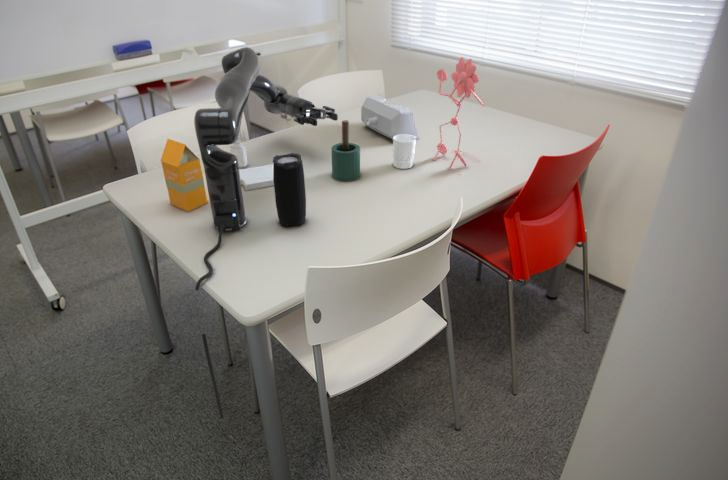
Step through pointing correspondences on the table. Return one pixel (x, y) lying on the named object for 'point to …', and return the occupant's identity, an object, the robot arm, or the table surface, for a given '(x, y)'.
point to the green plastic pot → (346, 162)
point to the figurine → (463, 83)
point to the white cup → (403, 150)
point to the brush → (345, 135)
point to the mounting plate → (257, 177)
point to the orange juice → (183, 176)
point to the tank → (387, 117)
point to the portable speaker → (289, 189)
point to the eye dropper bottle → (239, 152)
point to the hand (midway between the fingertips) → (326, 120)
